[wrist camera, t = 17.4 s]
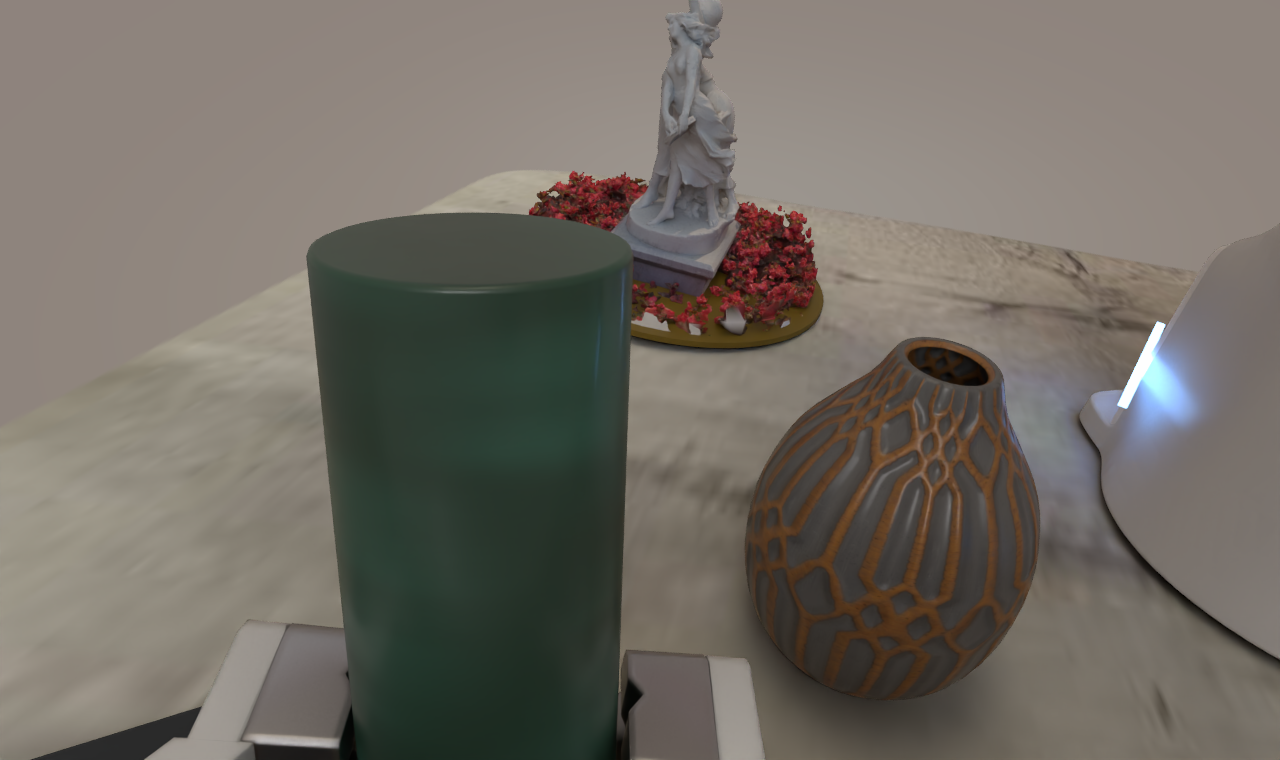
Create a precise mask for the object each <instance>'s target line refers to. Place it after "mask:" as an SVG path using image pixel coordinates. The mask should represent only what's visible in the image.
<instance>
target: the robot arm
mask: <svg viewBox="0 0 1280 760" xmlns="http://www.w3.org/2000/svg"><path fill="white" fill-rule="evenodd" d="M1164 326H1165V324H1162V323H1159V322H1157V323H1156V325H1155V327H1154V329H1153V332H1152V334H1151V336H1150V338H1149V340H1148V342H1147V344H1146V346H1145V348H1144V350H1143V352H1142V354H1141V357H1140V359H1139V361H1138V363H1137V365H1136V367H1135V369H1134V371H1133V373H1132V375H1131V378H1130V380H1129V382H1128V384H1127V386H1126V388H1125V389H1124V390H1112V391H1101V392H1096V393H1094V394H1092V395H1091V396H1090V398H1089V399H1088V401H1087V403H1086V404H1085V406H1084V408H1083V409H1082V411H1081V412H1080V415H1079V417H1080V421H1081V423H1082V425H1083V427H1084V428H1085V430H1086V432H1087V433H1088V435H1089V436H1090V438H1091V439H1092V441H1093V442H1094V443H1095V445H1096V446H1097V448H1098V449H1099V450H1100V454H1101V460H1102V468H1101V486H1102V491H1103V495H1104V498H1105V501H1106V504H1107V506H1108V508H1109V510H1110V512H1111V514H1112V516H1113V518H1114V520H1115V521H1116V523H1117V525H1118V526H1119V528H1120V529H1121V531H1122V532H1123V533H1124V535H1125V536H1126V537H1127V539H1128V540H1129V541H1130V543H1131V544H1132V545H1133V546H1134V547H1135V549H1136V550H1137V551H1138V552H1139V553H1140V554H1141V555H1142V557H1143V558H1144V559H1145V560H1146V561H1147V562H1148V563H1149V564H1150V565H1151V566H1152V567H1153V568H1154V569H1155V570H1156V571H1157V572H1158V573H1159V574H1160V575H1161V576H1163V577H1164V578H1165V579H1166V580H1167V581H1168V582H1169V583H1170V584H1171V585H1173V586H1174V587H1175V588H1176V589H1177V590H1178V591H1179V592H1181V593H1182V594H1183V595H1184V596H1186V597H1187V598H1188V599H1189V600H1191V601H1192V602H1193V603H1194V604H1196V605H1197V606H1198V607H1200V608H1201V609H1202V610H1204V611H1205V612H1206V613H1207V614H1209V615H1210V616H1212V617H1213V618H1214V619H1216V620H1217V621H1219V622H1220V623H1222V624H1223V625H1224V626H1226V627H1227V628H1229V629H1230V630H1232V631H1233V632H1235V633H1236V634H1238V635H1239V636H1241V637H1243V638H1244V639H1246V640H1247V641H1249V642H1250V643H1252V644H1254V645H1255V646H1257V647H1259V648H1260V649H1262V650H1264V651H1265V652H1267V653H1269V654H1271V655H1272V656H1274V657H1276V658H1278V659H1279V660H1280V223H1279V224H1278V225H1277V226H1275V227H1274V228H1272V229H1271V230H1269V231H1267V232H1265V233H1263V234H1261V235H1258V236H1255V237H1250V238H1246V239H1242V240H1239V241H1236V242H1234V243H1232V244H1231V245H1225V246H1221V247H1220V248H1218V249H1217V250H1216V251H1214V252H1213V253H1212V254H1211V256H1210V257H1209V258H1208V259H1207V261H1206V262H1205V264H1204V265H1203V267H1202V269H1201V270H1200V272H1199V273H1198V275H1197V277H1196V278H1195V280H1194V282H1193V283H1192V285H1191V287H1190V288H1189V290H1188V292H1187V293H1186V295H1185V297H1184V298H1183V300H1182V302H1181V303H1180V305H1179V307H1178V308H1177V310H1176V312H1175V313H1174V315H1173V317H1172V318H1171V320H1170V322H1169V323H1168V325H1167V327H1166V329H1165V330H1164V332H1163V334H1162V335H1161V333H1162V331H1163V329H1164ZM1160 335H1161V337H1160ZM1159 337H1160V339H1159ZM144 760H357V751H356V741H355V731H354V721H353V712H352V702H351V692H350V682H349V672H348V662H347V652H346V642H345V633H344V629H343V628H333V627H323V626H314V625H304V624H294V623H292V624H290V623H279V622H268V621H258V620H247V621H246V622H245V624H244V625H243V626H242V627H241V628H240V629H239V630H238V632H237V634H236V636H235V638H234V640H233V642H232V645H231V647H230V649H229V651H228V653H227V655H226V657H225V659H224V662H223V664H222V666H221V668H220V670H219V672H218V674H217V676H216V679H215V681H214V683H213V685H212V687H211V689H210V691H209V693H208V695H207V698H206V700H205V702H204V704H203V706H202V708H201V710H200V712H199V715H198V717H197V719H196V721H195V723H194V725H193V727H192V729H191V732H190V734H189V736H188V738H176V737H174V738H172V739H171V740H170V741H168V742H167V743H166V744H164V745H163V746H162V747H160V748H159V749H158V750H156V751H155V752H154V753H152V754H151V755H150V756H148V757H147V758H146V759H144ZM616 760H765V754H764V747H763V741H762V735H761V729H760V723H759V717H758V711H757V705H756V699H755V693H754V686H753V680H752V674H751V668H750V664H749V663H748V661H747V660H746V658H735V657H721V656H708V655H707V656H704V655H701V654H685V653H669V652H654V651H638V650H626V652H625V654H624V658H623V663H622V668H621V692H620V693H619V694H618V715H617V744H616Z"/></svg>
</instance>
